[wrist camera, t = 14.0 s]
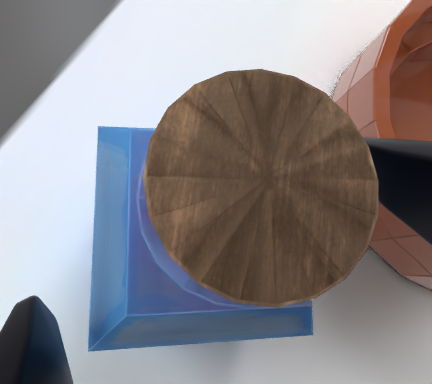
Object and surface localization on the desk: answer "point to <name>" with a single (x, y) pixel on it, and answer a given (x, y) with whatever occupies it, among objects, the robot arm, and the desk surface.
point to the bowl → (395, 118)
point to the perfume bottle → (227, 214)
